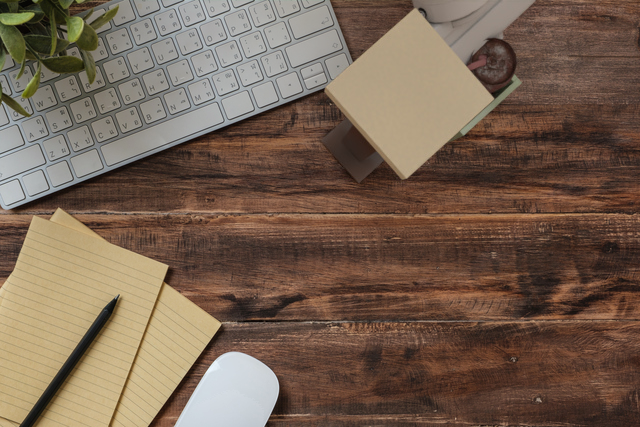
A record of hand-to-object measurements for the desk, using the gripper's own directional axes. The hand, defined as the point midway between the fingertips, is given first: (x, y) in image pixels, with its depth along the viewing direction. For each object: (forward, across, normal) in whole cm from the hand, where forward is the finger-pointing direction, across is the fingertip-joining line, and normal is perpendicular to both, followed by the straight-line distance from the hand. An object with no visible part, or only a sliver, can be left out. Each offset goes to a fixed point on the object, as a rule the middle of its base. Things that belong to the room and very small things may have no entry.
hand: (477, 78), depth 60 cm
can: (+5, 0, +7) cm, 9 cm away
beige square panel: (-16, -15, -10) cm, 24 cm away
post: (+3, -15, +9) cm, 18 cm away
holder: (+6, 0, +7) cm, 9 cm away
